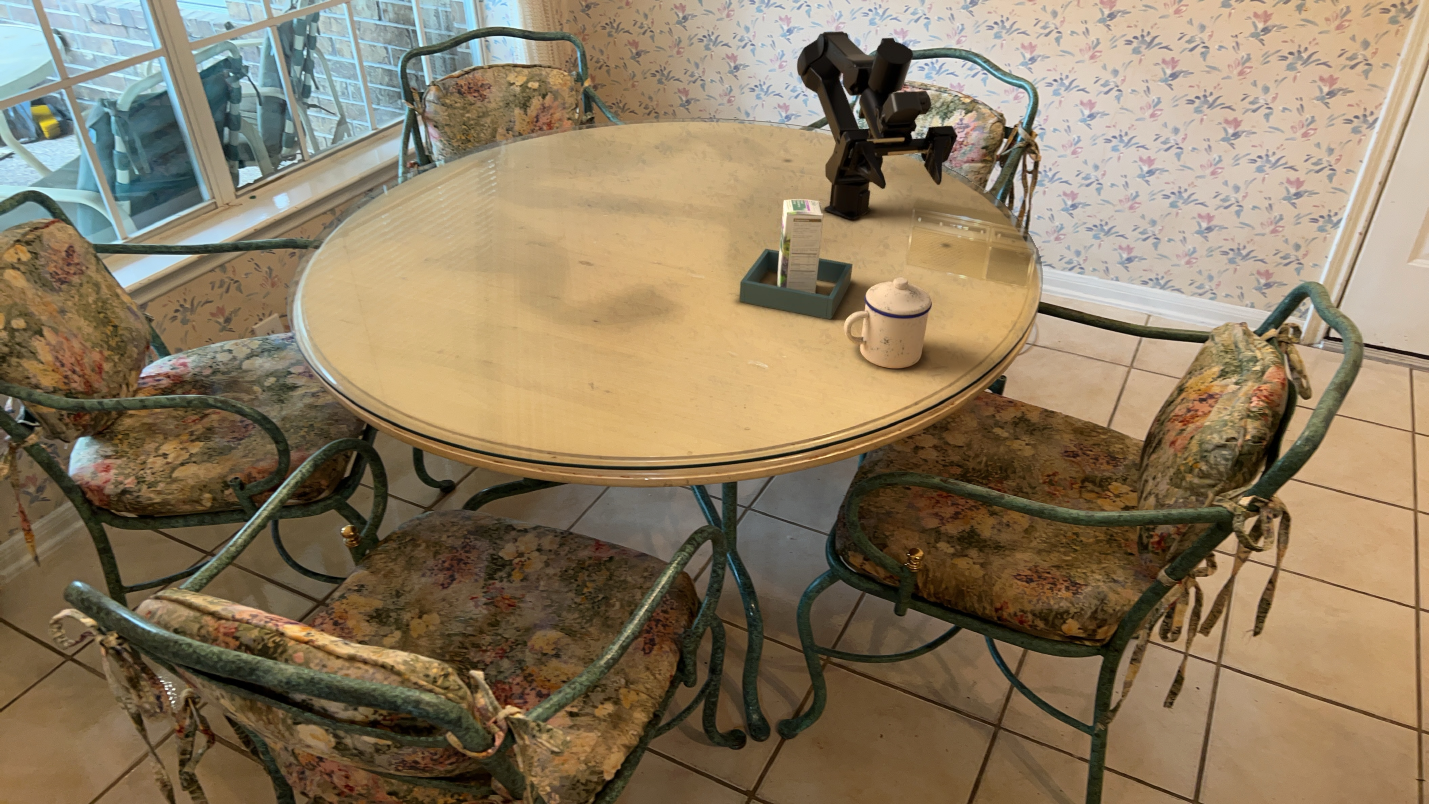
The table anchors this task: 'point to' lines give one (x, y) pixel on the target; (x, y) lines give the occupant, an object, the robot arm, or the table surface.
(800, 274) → the syrup box
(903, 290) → the teacup with lid
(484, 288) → the table surface
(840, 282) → the teal square frame
